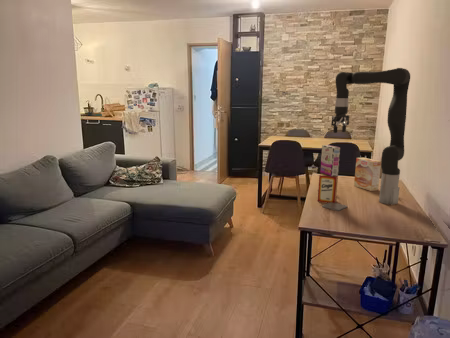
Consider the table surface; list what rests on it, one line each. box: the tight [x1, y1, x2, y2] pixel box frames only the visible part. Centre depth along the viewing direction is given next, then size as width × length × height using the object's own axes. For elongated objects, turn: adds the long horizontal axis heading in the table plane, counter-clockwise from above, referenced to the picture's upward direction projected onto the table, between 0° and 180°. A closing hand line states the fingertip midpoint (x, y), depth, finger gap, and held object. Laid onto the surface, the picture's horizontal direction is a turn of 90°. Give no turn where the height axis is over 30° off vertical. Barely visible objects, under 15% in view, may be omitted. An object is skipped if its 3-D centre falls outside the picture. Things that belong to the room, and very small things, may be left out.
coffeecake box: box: [353, 157, 382, 192], centre depth 234 cm, size 15×7×20 cm, turn 25°
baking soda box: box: [317, 173, 339, 204], centre depth 204 cm, size 10×6×16 cm
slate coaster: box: [321, 202, 348, 212], centre depth 195 cm, size 10×10×1 cm
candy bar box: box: [320, 144, 341, 177], centre depth 201 cm, size 11×5×16 cm, turn 19°
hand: (339, 132), depth 218 cm, fingers open, 8 cm apart
